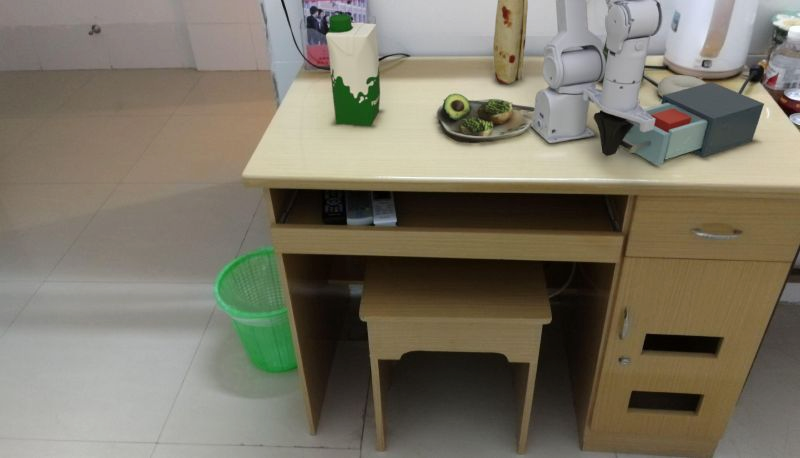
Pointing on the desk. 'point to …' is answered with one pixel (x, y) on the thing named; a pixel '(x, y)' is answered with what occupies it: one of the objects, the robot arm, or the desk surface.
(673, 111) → the block
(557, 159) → the desk surface
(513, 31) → the food model
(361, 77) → the milk carton
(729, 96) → the grey box
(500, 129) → the avocado toast plate
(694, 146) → the drawer
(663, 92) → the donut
